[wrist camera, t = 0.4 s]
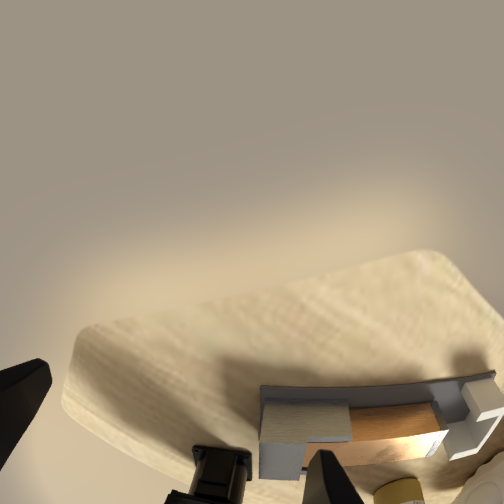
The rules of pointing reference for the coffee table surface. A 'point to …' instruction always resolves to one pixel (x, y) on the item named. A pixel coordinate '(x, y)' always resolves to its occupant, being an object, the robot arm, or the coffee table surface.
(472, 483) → the camera
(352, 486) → the robot arm
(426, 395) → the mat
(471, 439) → the socket
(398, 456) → the tan wooden block
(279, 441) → the sleeve
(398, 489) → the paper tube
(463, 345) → the coffee table surface
